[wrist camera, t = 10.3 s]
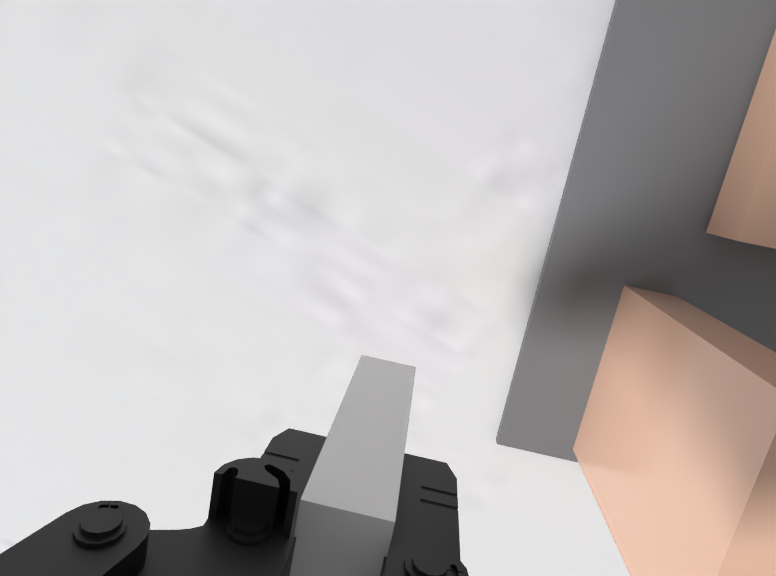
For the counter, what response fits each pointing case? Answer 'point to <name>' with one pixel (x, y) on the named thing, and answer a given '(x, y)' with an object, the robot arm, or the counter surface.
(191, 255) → the counter surface
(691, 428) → the tile
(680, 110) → the mat
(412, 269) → the counter surface
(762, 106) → the tile
